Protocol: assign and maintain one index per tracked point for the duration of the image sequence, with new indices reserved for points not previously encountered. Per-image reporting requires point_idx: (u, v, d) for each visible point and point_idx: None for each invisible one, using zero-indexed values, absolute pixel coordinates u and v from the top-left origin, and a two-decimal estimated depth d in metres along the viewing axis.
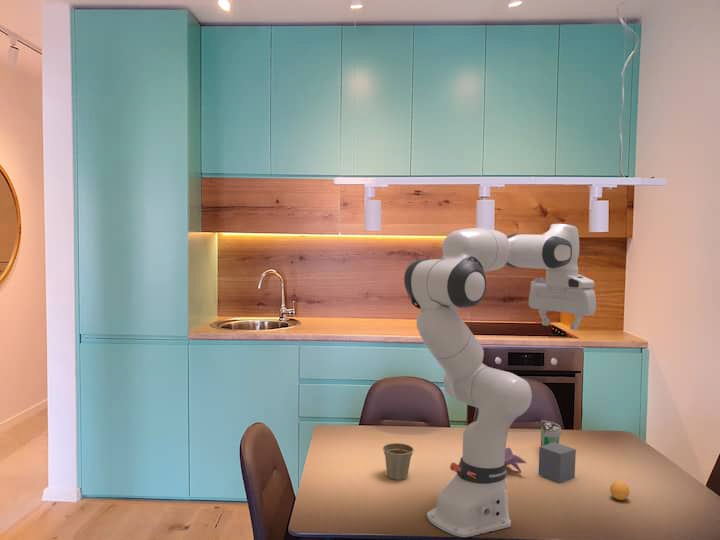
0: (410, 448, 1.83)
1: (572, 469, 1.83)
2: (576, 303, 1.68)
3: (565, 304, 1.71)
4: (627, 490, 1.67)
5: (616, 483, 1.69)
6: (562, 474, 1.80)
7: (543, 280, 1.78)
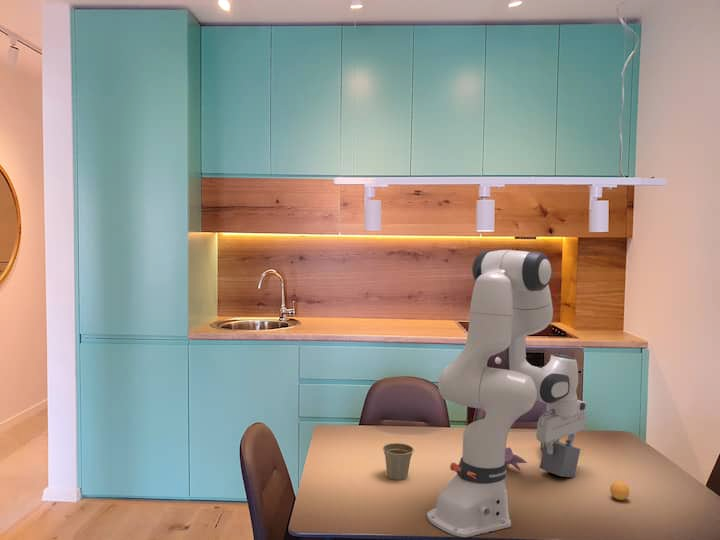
0: (410, 448, 1.83)
1: (574, 468, 1.84)
2: (578, 422, 1.87)
3: (571, 427, 1.85)
4: (627, 490, 1.67)
5: (616, 483, 1.69)
6: (564, 468, 1.81)
7: (551, 412, 1.81)
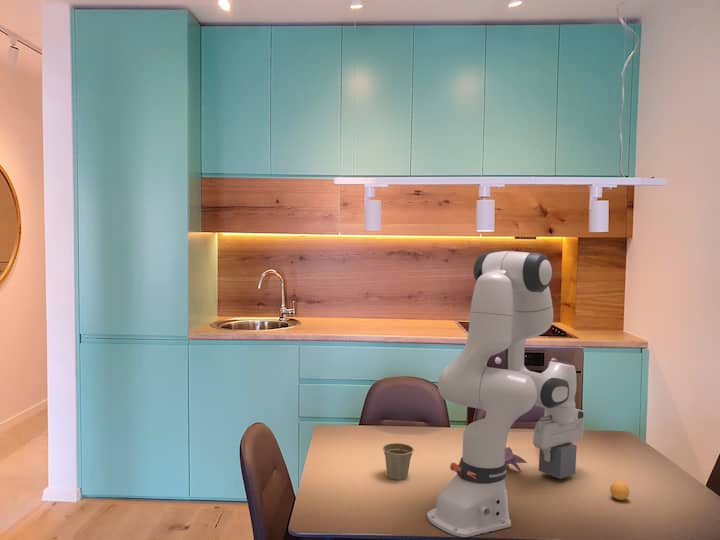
0: (410, 448, 1.83)
1: (573, 465, 1.82)
2: (576, 431, 1.86)
3: (569, 435, 1.84)
4: (627, 490, 1.67)
5: (616, 483, 1.69)
6: (562, 470, 1.79)
7: (549, 418, 1.79)
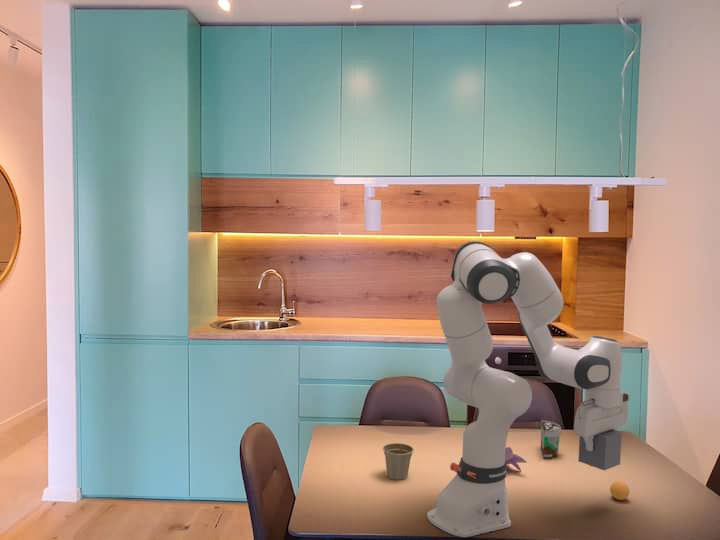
0: (410, 448, 1.83)
1: (617, 455, 1.61)
2: (620, 417, 1.64)
3: (613, 421, 1.62)
4: (627, 490, 1.67)
5: (616, 483, 1.69)
6: (607, 460, 1.58)
7: (591, 402, 1.58)
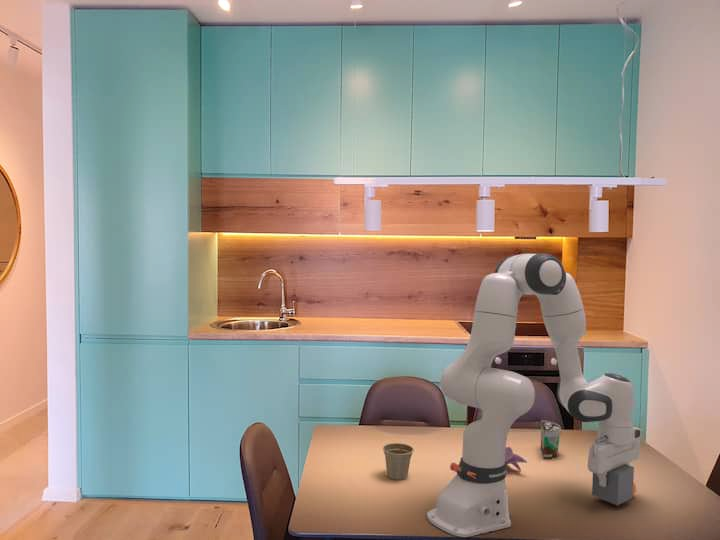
0: (410, 448, 1.83)
1: (630, 489, 1.65)
2: (632, 452, 1.69)
3: (625, 456, 1.67)
4: (635, 489, 1.70)
5: None
6: (620, 495, 1.62)
7: (604, 439, 1.62)
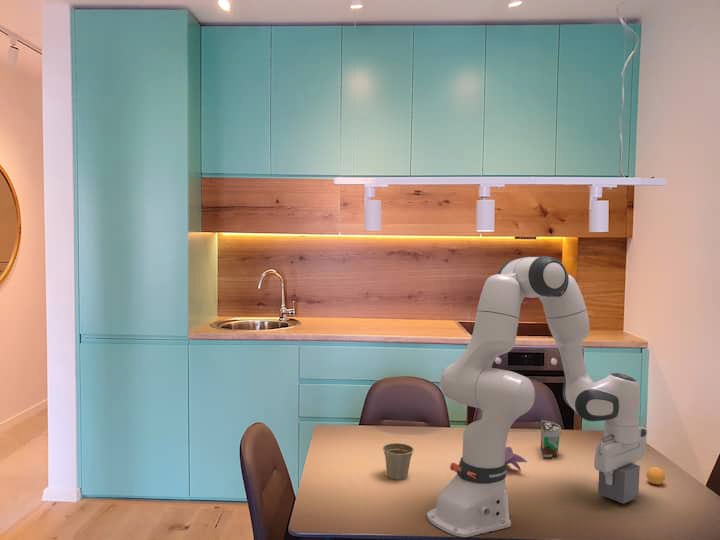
0: (410, 448, 1.83)
1: (636, 488, 1.67)
2: (637, 451, 1.70)
3: (631, 455, 1.68)
4: (664, 476, 1.79)
5: None
6: (626, 494, 1.64)
7: (611, 438, 1.64)
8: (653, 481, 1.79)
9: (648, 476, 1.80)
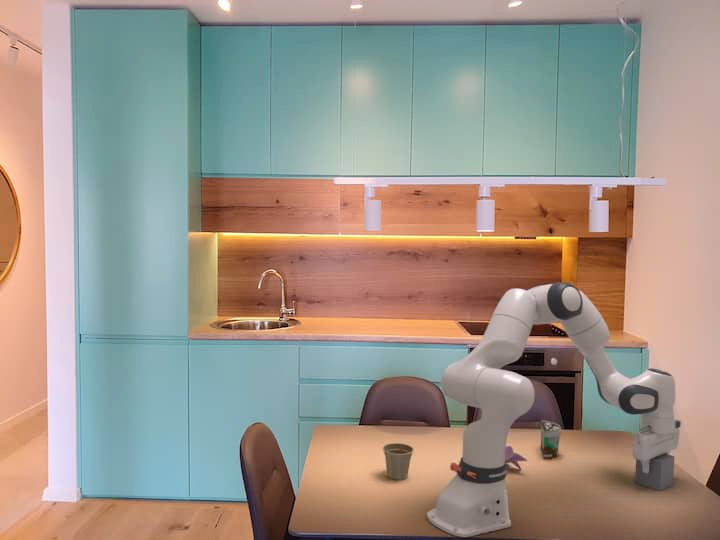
0: (410, 448, 1.83)
1: (671, 477, 1.79)
2: (672, 441, 1.82)
3: (666, 445, 1.80)
4: None
5: None
6: (662, 482, 1.76)
7: (648, 429, 1.76)
8: None
9: None
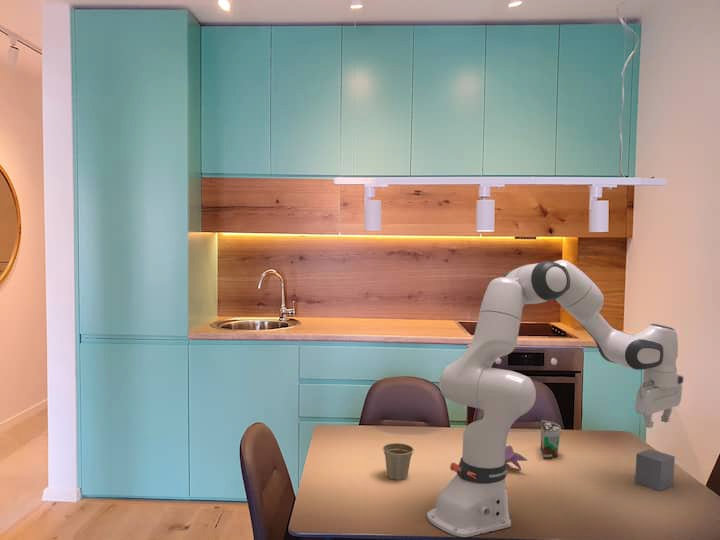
0: (410, 448, 1.83)
1: (671, 477, 1.79)
2: (674, 397, 1.81)
3: (669, 401, 1.79)
4: None
5: None
6: (662, 482, 1.76)
7: (651, 383, 1.75)
8: None
9: None
